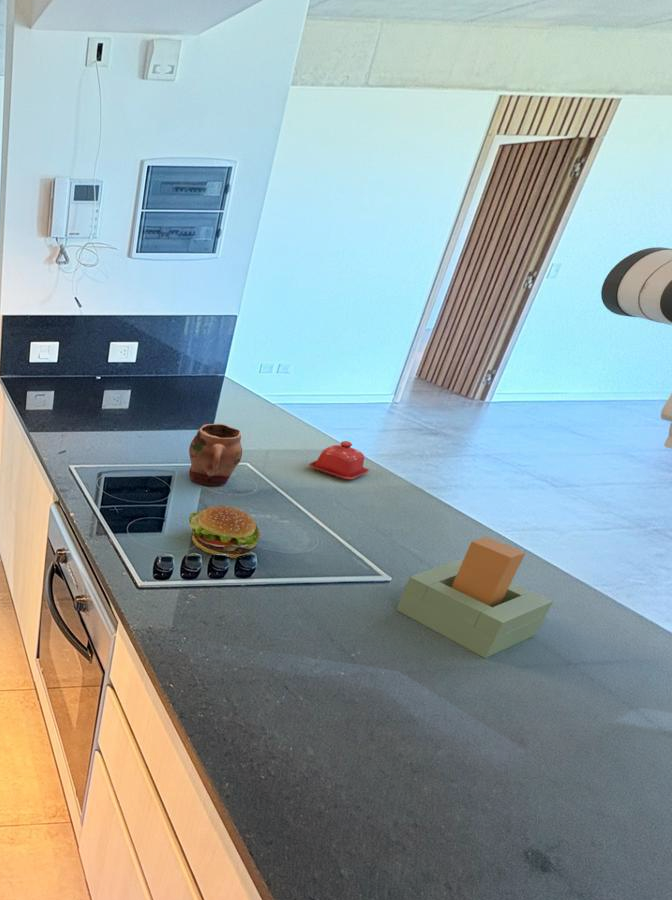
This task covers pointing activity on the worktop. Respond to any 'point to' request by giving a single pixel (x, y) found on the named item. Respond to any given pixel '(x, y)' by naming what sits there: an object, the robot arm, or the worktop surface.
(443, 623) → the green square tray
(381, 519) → the worktop surface
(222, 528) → the food
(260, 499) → the worktop surface
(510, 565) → the orange rectangular block
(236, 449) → the decorative planter
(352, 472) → the butter dish
